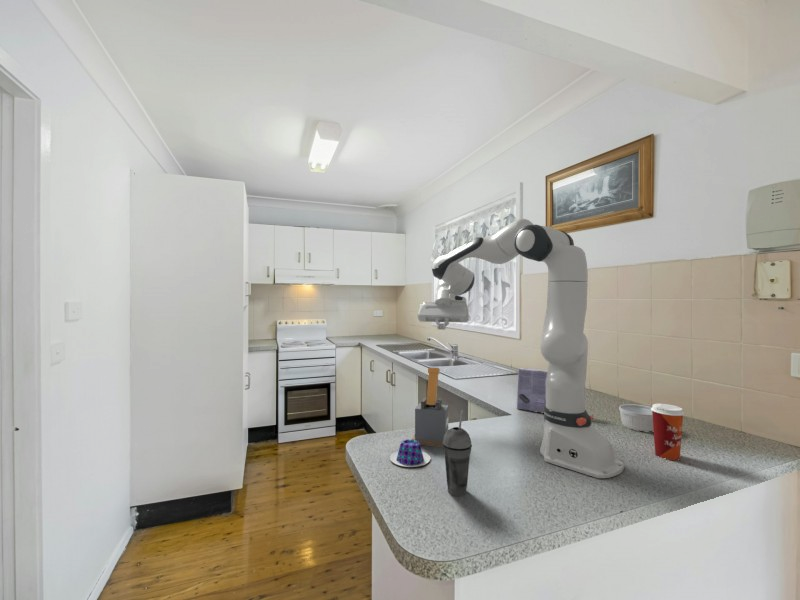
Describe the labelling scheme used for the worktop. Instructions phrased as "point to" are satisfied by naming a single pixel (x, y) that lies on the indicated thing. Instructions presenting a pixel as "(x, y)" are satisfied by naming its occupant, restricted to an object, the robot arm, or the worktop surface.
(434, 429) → the box
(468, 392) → the worktop surface
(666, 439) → the coffee cup
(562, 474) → the worktop surface
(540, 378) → the cake pan box
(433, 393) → the lever
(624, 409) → the ramekin
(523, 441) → the worktop surface
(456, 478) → the beverage cup
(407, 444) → the pudding
